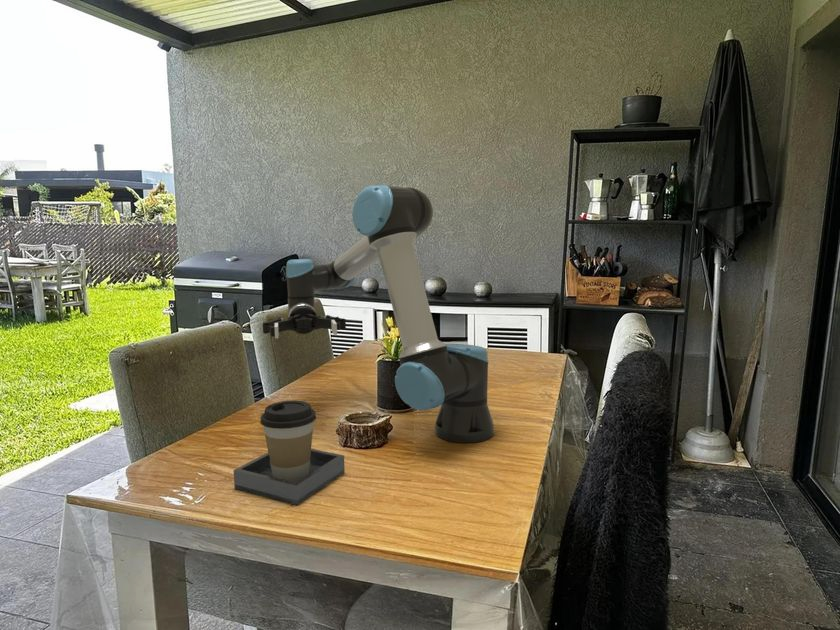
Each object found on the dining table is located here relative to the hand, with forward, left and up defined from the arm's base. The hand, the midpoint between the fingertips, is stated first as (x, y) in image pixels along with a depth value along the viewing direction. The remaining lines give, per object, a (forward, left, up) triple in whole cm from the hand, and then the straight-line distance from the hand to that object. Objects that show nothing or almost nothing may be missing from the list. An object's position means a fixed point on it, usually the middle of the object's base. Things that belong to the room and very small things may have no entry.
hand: (306, 331), depth 131 cm
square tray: (-8, +17, -29) cm, 34 cm away
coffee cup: (-8, +17, -28) cm, 33 cm away
